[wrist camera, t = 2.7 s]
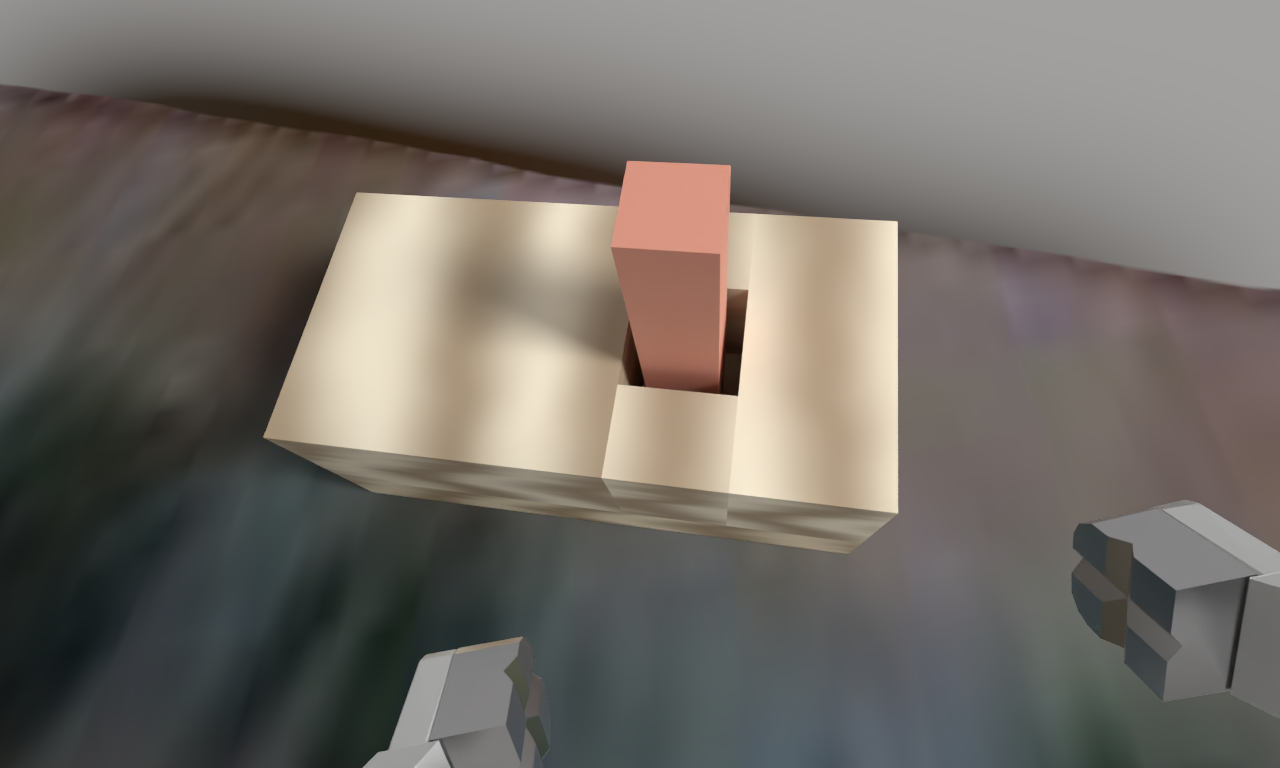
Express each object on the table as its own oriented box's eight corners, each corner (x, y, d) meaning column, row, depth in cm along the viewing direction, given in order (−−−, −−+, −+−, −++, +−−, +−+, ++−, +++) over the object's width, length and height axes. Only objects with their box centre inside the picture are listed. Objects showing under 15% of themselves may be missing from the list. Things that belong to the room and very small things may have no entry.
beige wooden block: (372, 492, 34) (262, 437, 26) (435, 287, 39) (359, 185, 30) (848, 554, 30) (897, 513, 22) (854, 319, 35) (897, 213, 27)
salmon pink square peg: (654, 420, 31) (610, 247, 18) (662, 362, 32) (627, 160, 19) (718, 426, 30) (720, 253, 18) (724, 368, 31) (730, 165, 19)
